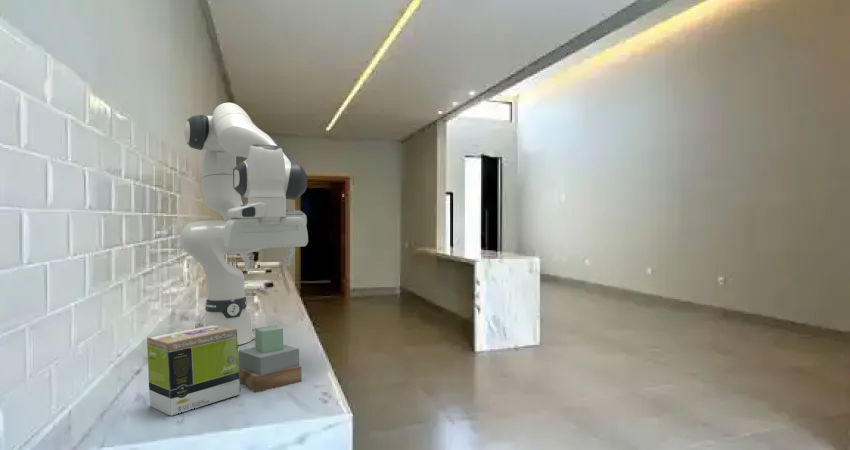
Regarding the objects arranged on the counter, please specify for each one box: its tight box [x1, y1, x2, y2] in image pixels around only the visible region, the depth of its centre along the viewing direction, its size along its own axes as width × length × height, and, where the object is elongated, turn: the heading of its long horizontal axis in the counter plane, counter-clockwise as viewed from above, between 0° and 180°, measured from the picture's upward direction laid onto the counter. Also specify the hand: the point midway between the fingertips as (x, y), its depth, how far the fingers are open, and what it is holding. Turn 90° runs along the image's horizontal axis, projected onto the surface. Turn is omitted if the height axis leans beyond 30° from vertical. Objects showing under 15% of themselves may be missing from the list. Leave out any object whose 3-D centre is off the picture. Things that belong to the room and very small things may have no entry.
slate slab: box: [238, 344, 300, 375], centre depth 119 cm, size 10×10×4 cm
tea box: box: [146, 325, 241, 417], centre depth 106 cm, size 15×10×15 cm, turn 141°
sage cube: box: [254, 325, 284, 353], centre depth 119 cm, size 5×5×5 cm
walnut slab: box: [239, 365, 302, 393], centre depth 119 cm, size 11×11×4 cm
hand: (268, 267), depth 122 cm, fingers open, 8 cm apart
